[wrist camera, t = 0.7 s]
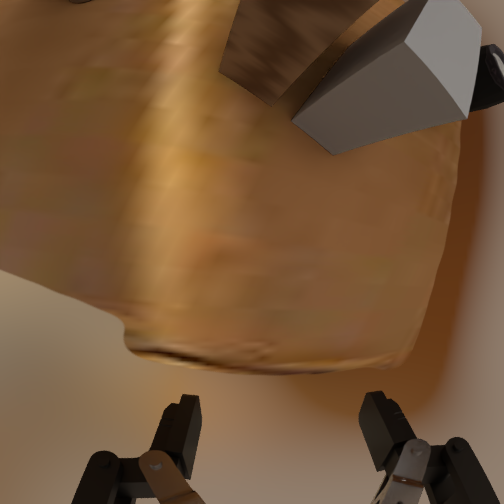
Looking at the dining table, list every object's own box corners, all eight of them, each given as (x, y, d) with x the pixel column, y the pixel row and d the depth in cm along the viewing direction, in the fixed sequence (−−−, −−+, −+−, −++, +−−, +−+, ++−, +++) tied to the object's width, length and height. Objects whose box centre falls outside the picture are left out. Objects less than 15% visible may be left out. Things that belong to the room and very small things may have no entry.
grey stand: (290, 121, 32) (404, 41, 12) (349, 46, 32) (439, -21, 12) (333, 155, 34) (467, 118, 13) (382, 76, 34) (482, 27, 13)
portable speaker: (400, 111, 35) (498, 80, 16) (398, 66, 34) (482, 26, 15) (434, 131, 37) (525, 114, 18) (432, 88, 36) (512, 61, 17)
